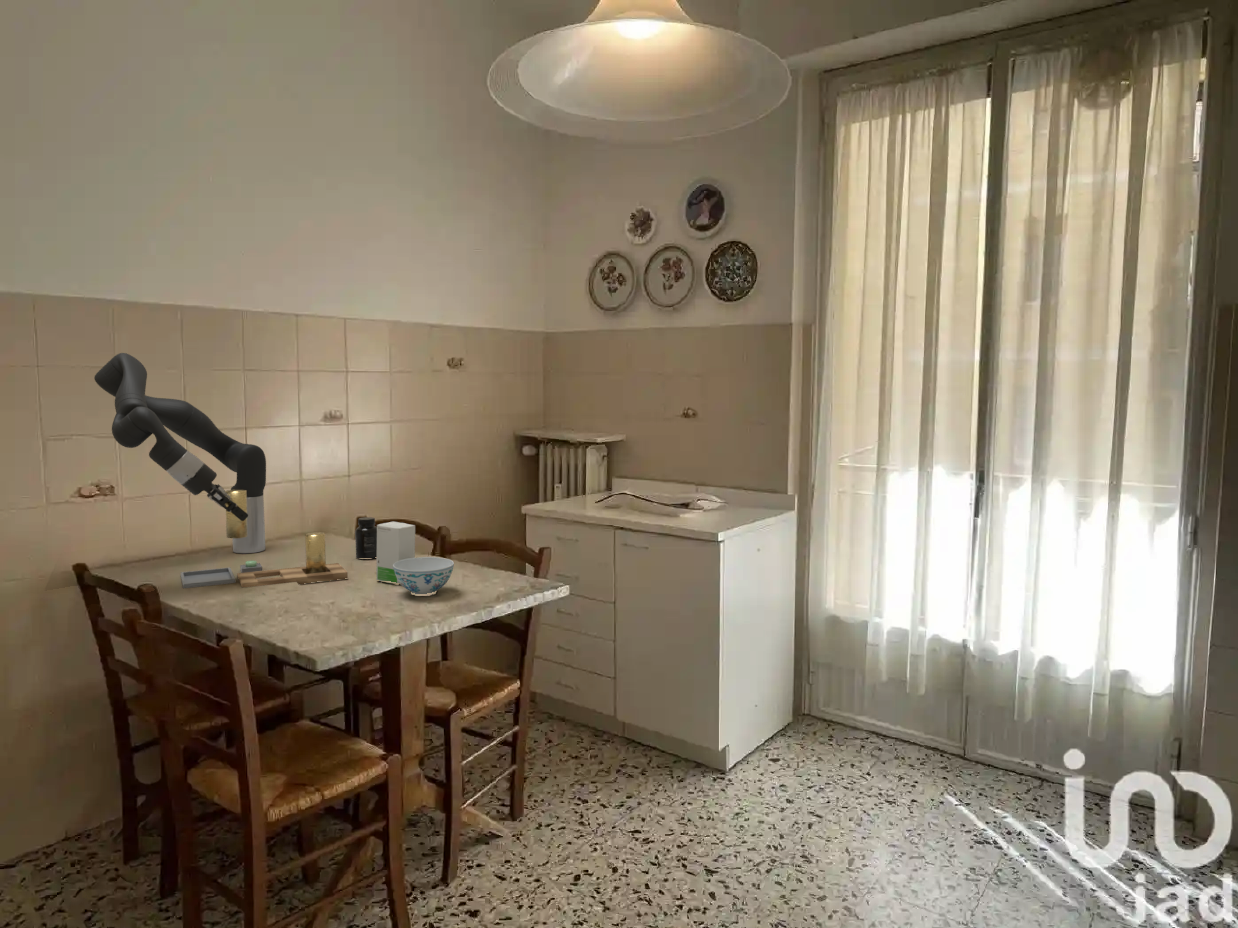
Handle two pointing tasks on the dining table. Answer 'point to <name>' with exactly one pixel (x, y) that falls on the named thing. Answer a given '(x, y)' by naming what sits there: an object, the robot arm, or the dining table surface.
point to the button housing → (250, 568)
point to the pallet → (291, 576)
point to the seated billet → (315, 552)
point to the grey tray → (207, 577)
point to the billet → (234, 524)
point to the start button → (251, 563)
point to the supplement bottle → (366, 538)
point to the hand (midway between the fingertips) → (244, 516)
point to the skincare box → (393, 548)
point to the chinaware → (423, 573)
